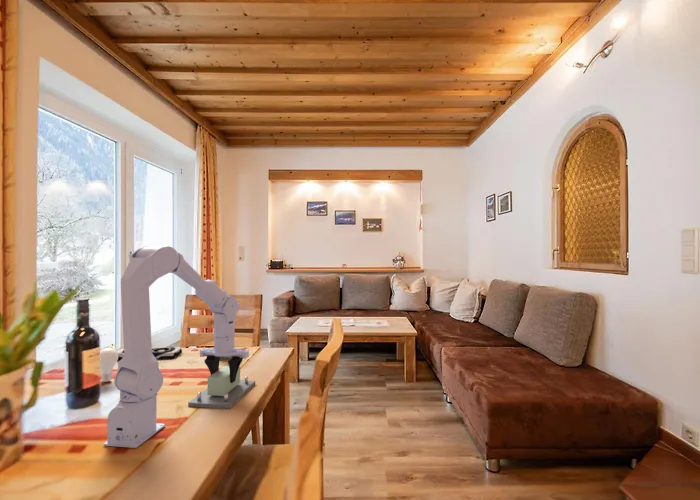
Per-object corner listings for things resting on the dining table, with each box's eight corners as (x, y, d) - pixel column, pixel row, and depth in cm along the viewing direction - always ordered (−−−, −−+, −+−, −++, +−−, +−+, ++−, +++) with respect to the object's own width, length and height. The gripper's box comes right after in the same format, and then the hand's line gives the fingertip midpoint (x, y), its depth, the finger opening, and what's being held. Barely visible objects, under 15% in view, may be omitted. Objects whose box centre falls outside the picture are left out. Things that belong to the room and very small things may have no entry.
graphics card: (119, 347, 138) (183, 345, 141) (119, 355, 138) (182, 353, 141) (104, 354, 128) (173, 352, 131) (104, 363, 128) (173, 361, 131)
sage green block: (224, 396, 94) (224, 378, 94) (207, 395, 95) (207, 377, 95) (240, 382, 104) (240, 366, 104) (224, 381, 105) (225, 365, 105)
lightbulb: (103, 387, 104) (103, 351, 104) (89, 384, 106) (89, 350, 106) (122, 379, 110) (123, 346, 110) (109, 377, 112) (109, 344, 112)
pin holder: (229, 408, 90) (229, 397, 90) (188, 406, 91) (188, 395, 91) (255, 384, 107) (255, 374, 107) (219, 382, 108) (219, 373, 108)
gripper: (253, 333, 102) (252, 377, 102) (209, 331, 104) (208, 375, 104) (243, 339, 95) (242, 386, 95) (195, 337, 97) (195, 383, 97)
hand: (224, 381), depth 99 cm, fingers closed on sage green block, 5 cm apart
